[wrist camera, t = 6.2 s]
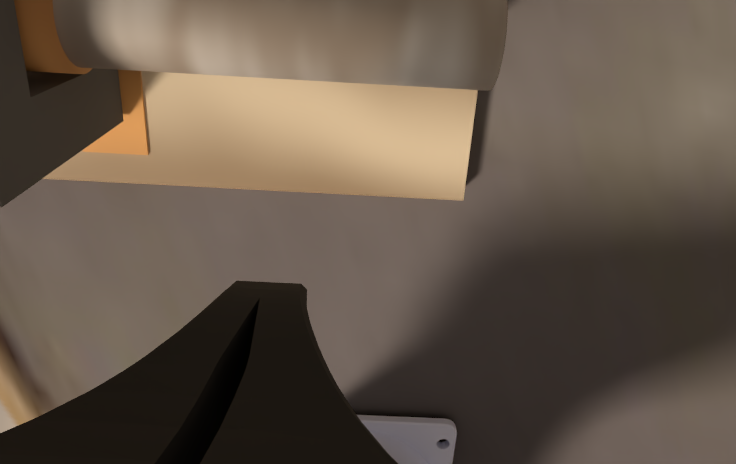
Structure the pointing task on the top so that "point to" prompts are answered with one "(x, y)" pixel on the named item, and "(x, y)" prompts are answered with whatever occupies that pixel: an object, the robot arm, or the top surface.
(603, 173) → the top surface
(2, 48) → the collar
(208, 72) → the pipe stand
